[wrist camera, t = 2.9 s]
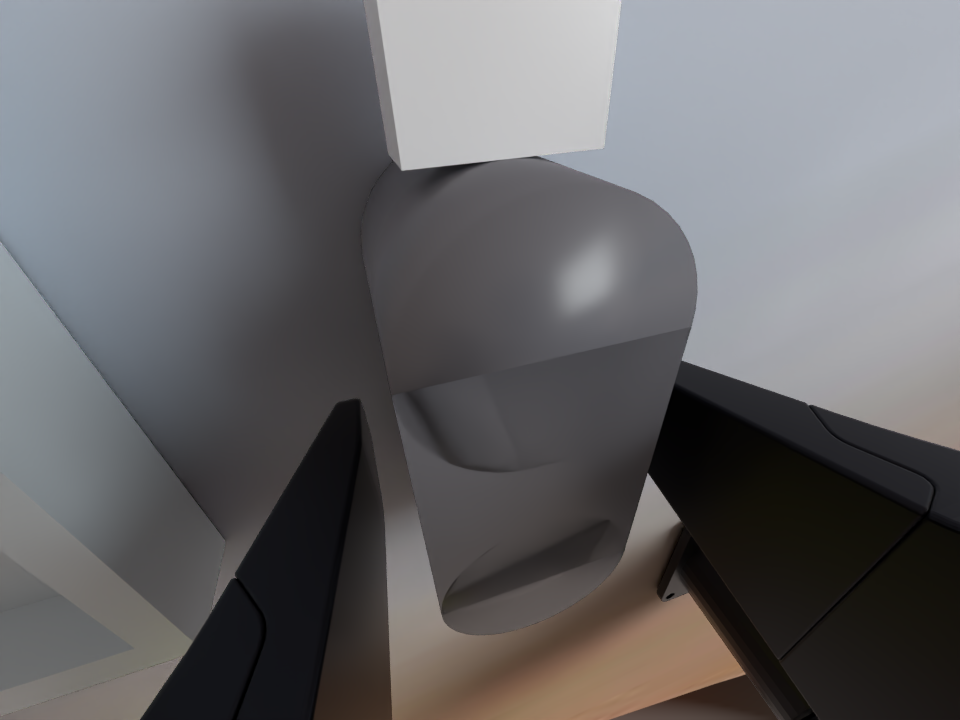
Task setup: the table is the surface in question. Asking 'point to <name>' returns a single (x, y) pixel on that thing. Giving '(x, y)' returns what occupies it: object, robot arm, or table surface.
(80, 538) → the dock tray
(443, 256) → the plug
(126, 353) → the table surface
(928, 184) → the table surface
